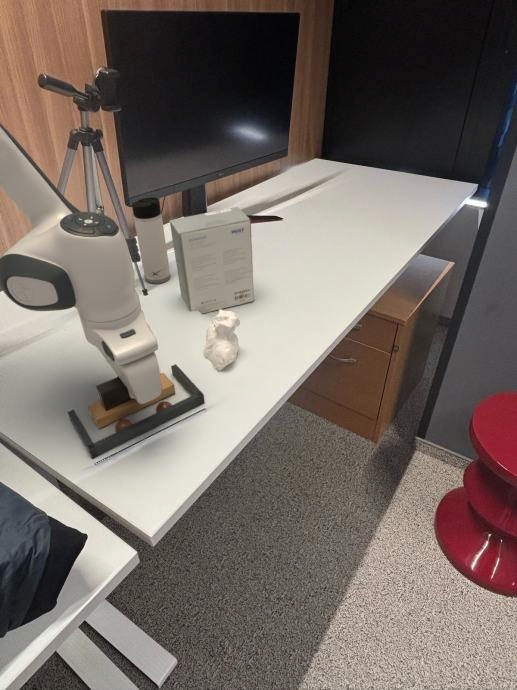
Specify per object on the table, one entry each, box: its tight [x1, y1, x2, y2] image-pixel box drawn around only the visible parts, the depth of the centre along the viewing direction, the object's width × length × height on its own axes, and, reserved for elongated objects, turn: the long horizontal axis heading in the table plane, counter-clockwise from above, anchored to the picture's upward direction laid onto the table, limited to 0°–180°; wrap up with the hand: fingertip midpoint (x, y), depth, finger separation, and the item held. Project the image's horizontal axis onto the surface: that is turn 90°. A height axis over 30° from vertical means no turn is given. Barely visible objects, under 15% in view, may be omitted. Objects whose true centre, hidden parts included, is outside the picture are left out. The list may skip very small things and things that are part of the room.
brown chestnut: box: [114, 418, 134, 433], centre depth 78 cm, size 3×3×3 cm
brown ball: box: [155, 400, 173, 413], centre depth 81 cm, size 3×3×3 cm
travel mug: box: [131, 197, 171, 285], centre depth 113 cm, size 6×7×20 cm
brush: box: [87, 372, 176, 431], centre depth 81 cm, size 14×4×7 cm, turn 126°
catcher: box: [67, 363, 206, 465], centre depth 81 cm, size 20×10×4 cm, turn 126°
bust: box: [203, 309, 241, 372], centre depth 92 cm, size 12×8×11 cm
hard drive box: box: [168, 206, 255, 315], centre depth 104 cm, size 16×8×20 cm, turn 113°
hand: (130, 389), depth 80 cm, fingers closed on brush, 2 cm apart
